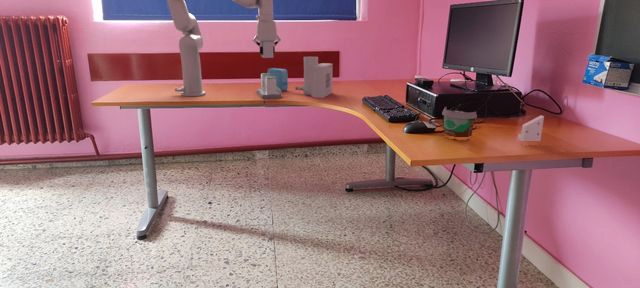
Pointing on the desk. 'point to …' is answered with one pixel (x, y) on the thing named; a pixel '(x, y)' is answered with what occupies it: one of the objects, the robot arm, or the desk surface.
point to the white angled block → (532, 130)
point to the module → (267, 49)
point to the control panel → (317, 78)
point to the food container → (458, 123)
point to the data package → (280, 78)
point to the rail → (264, 96)
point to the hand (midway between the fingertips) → (267, 54)
